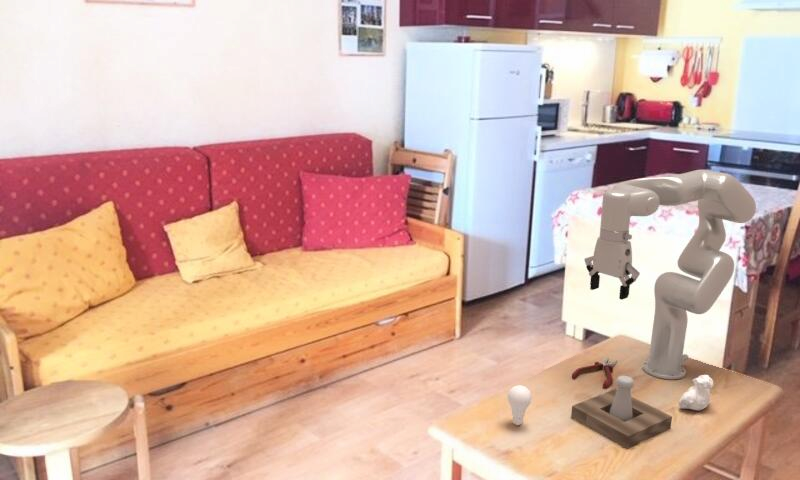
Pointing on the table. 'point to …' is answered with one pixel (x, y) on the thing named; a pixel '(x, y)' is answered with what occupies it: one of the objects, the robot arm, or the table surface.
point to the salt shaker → (623, 399)
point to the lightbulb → (519, 402)
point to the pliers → (598, 367)
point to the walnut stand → (623, 433)
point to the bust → (697, 394)
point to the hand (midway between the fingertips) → (608, 293)
